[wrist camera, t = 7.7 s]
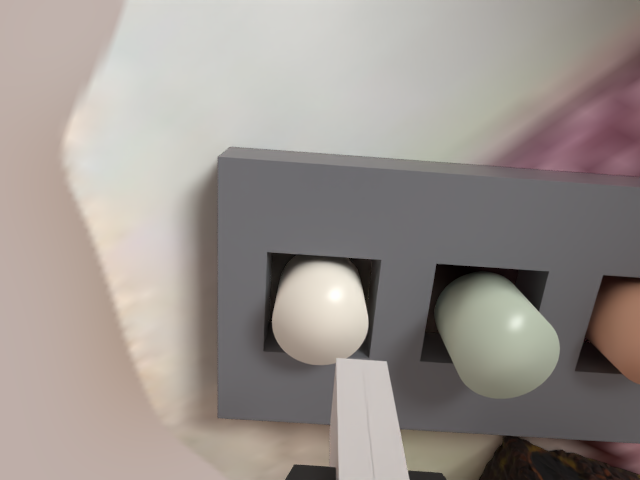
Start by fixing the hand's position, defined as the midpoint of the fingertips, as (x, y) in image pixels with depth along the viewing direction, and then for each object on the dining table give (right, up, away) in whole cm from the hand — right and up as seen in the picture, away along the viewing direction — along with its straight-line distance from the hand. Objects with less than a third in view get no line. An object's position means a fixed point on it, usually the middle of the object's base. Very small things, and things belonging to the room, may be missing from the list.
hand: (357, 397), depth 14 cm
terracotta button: (+15, +1, +11) cm, 19 cm away
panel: (+7, +2, +12) cm, 14 cm away
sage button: (+7, +1, +10) cm, 12 cm away
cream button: (-1, +2, +11) cm, 11 cm away
